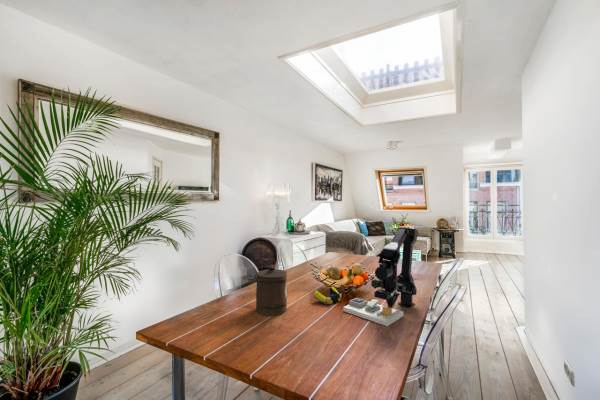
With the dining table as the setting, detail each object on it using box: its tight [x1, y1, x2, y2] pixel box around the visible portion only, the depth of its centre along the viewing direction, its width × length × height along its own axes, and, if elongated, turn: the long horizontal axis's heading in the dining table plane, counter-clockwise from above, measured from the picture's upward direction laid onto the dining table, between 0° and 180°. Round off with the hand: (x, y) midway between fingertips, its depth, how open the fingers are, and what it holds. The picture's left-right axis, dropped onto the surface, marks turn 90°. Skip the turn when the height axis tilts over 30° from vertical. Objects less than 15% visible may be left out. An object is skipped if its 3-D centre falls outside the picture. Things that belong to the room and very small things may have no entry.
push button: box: [354, 298, 364, 303], centre depth 141 cm, size 4×4×2 cm
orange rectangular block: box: [382, 305, 393, 315], centre depth 128 cm, size 2×4×3 cm, turn 44°
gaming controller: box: [313, 286, 343, 305], centre depth 152 cm, size 15×6×10 cm
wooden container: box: [255, 264, 288, 317], centre depth 139 cm, size 15×15×22 cm
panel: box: [343, 297, 404, 327], centre depth 135 cm, size 15×23×4 cm, turn 45°
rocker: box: [367, 298, 380, 308], centre depth 135 cm, size 6×3×1 cm, turn 134°
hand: (390, 309), depth 130 cm, fingers closed
